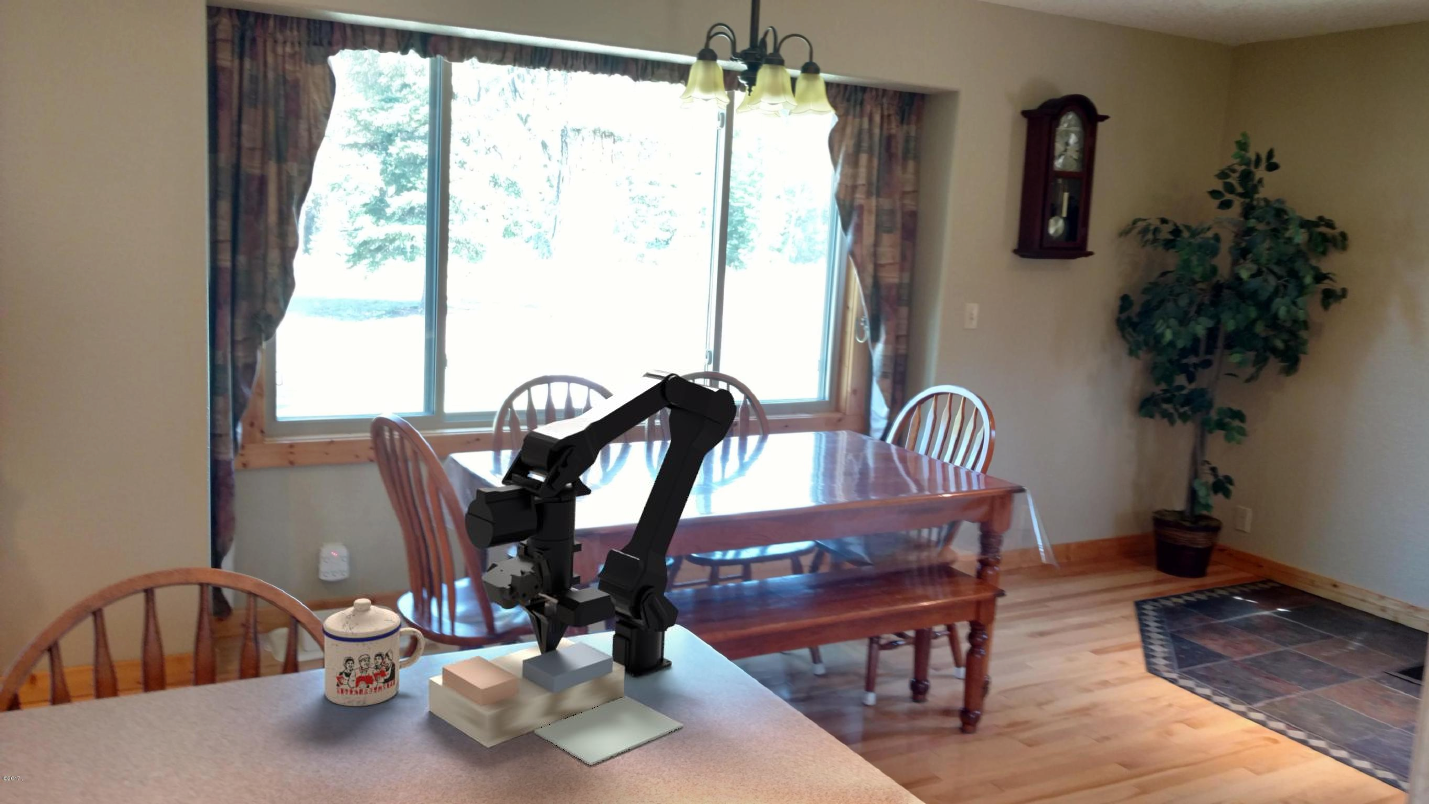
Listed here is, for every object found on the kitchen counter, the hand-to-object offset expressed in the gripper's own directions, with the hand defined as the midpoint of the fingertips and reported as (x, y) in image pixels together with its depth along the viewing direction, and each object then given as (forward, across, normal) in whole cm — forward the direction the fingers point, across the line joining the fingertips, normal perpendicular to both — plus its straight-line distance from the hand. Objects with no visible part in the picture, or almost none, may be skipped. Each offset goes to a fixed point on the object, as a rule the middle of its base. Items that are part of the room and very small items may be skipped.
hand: (546, 656), depth 132 cm
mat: (+5, +12, 0) cm, 13 cm away
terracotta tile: (+1, +1, -10) cm, 10 cm away
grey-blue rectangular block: (+1, +4, 0) cm, 4 cm away
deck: (+5, 0, -3) cm, 6 cm away
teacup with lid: (+5, -14, -15) cm, 21 cm away
